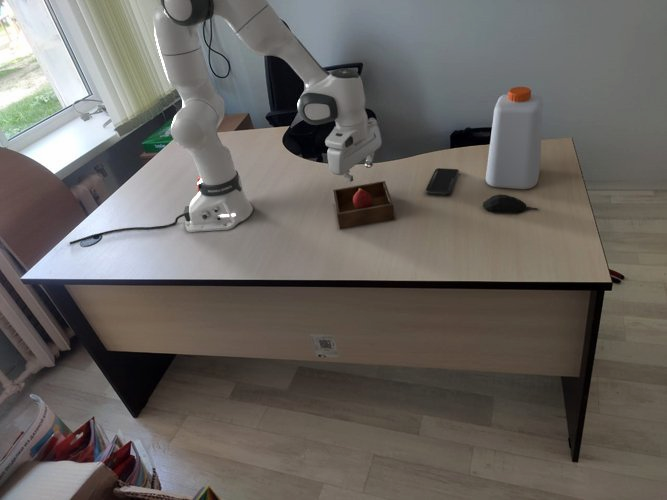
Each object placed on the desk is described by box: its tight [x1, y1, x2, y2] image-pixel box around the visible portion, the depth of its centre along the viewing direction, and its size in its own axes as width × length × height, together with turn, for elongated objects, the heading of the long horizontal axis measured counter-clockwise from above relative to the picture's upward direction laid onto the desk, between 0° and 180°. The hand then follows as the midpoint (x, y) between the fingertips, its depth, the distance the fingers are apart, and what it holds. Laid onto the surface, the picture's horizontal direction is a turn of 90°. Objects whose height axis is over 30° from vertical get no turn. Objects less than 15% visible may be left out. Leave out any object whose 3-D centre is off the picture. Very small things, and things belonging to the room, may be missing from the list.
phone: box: [425, 167, 460, 197], centre depth 153 cm, size 8×1×15 cm
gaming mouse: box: [482, 193, 538, 214], centre depth 136 cm, size 6×15×4 cm, turn 71°
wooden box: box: [332, 180, 396, 230], centre depth 146 cm, size 17×15×5 cm
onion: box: [353, 188, 372, 209], centre depth 145 cm, size 6×6×8 cm
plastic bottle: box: [485, 86, 544, 190], centre depth 141 cm, size 15×15×28 cm
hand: (359, 173), depth 140 cm, fingers open, 8 cm apart
